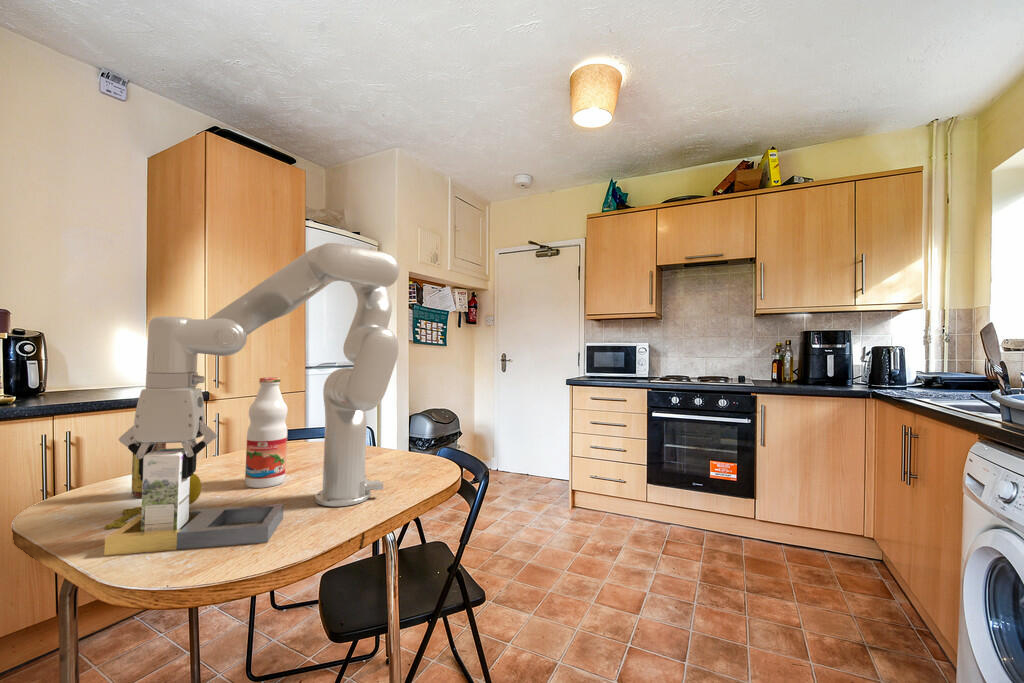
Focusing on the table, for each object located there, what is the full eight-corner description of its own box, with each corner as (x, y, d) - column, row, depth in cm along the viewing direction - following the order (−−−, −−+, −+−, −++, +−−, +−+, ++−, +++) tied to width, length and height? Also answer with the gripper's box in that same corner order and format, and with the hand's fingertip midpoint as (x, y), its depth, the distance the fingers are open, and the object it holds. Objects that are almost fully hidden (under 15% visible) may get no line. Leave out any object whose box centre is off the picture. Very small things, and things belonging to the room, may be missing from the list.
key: (120, 524, 84) (90, 525, 83) (119, 530, 84) (90, 531, 83) (159, 504, 96) (133, 504, 95) (158, 509, 96) (133, 510, 95)
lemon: (183, 513, 93) (185, 476, 93) (162, 510, 94) (164, 473, 94) (206, 504, 98) (208, 469, 98) (186, 502, 99) (188, 467, 99)
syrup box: (189, 520, 85) (192, 446, 85) (177, 532, 79) (180, 453, 79) (154, 523, 83) (157, 447, 83) (139, 536, 77) (142, 454, 78)
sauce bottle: (144, 490, 106) (148, 409, 107) (171, 490, 107) (175, 410, 107) (123, 499, 100) (127, 413, 100) (151, 499, 100) (155, 414, 101)
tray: (283, 517, 92) (283, 503, 92) (267, 542, 80) (268, 526, 80) (143, 527, 85) (143, 512, 85) (104, 555, 73) (105, 538, 73)
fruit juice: (290, 477, 120) (294, 377, 121) (278, 488, 111) (282, 379, 111) (253, 478, 118) (258, 376, 119) (238, 489, 109) (243, 378, 110)
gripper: (230, 380, 88) (227, 469, 87) (128, 380, 83) (124, 474, 82) (216, 383, 80) (212, 481, 80) (103, 383, 76) (99, 486, 75)
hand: (167, 476), depth 81 cm, fingers closed on syrup box, 5 cm apart
